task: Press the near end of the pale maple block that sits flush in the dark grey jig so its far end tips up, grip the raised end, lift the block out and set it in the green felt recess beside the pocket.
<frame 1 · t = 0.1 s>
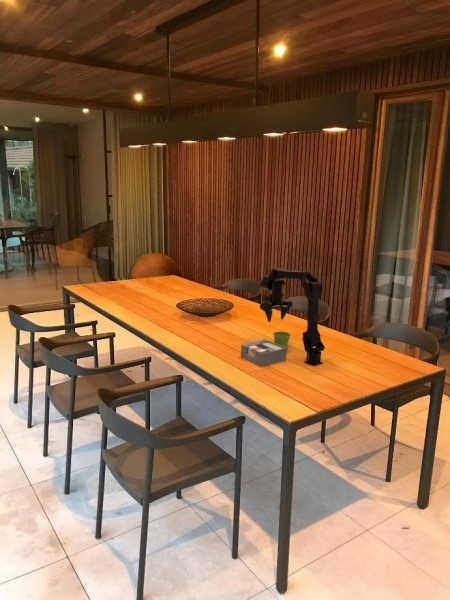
hand: (275, 320, 255), 15 cm above the table, tool pointing down, fingers open, 9 cm apart
jig board: (263, 358, 240), on the table
plant pot: (281, 350, 254), on the table
maple block: (257, 355, 236), point 3 cm above the table, touching jig board
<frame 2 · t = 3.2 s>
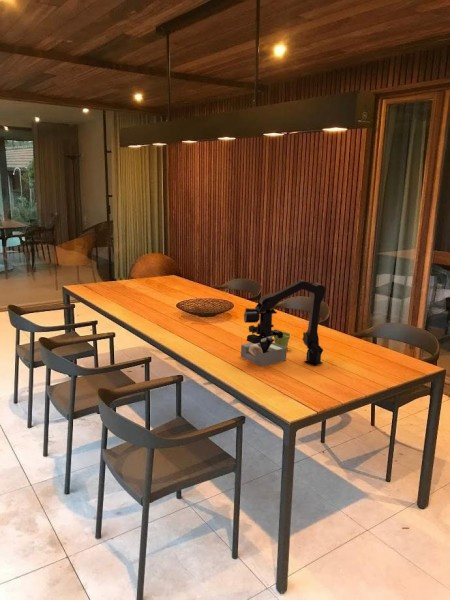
hand: (264, 353, 231), 6 cm above the table, tool pointing down, fingers closed, pressing on maple block
maple block: (257, 355, 236), point 3 cm above the table, tilted 13°, touching gripper, jig board
everything else where it was.
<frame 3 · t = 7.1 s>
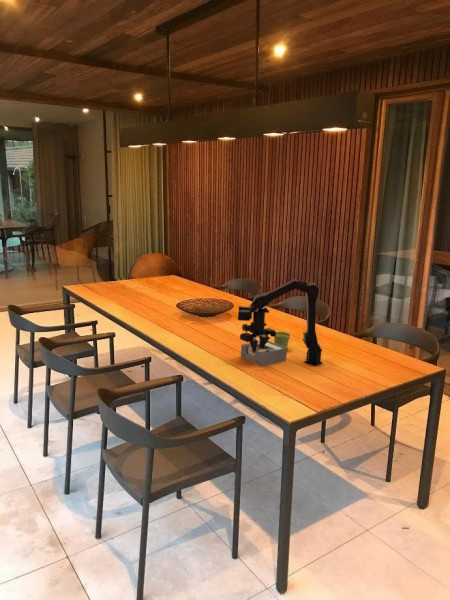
hand: (257, 351, 235), 5 cm above the table, tool pointing down, fingers closed on maple block, 4 cm apart
maple block: (257, 355, 236), point 3 cm above the table, touching gripper, jig board
everything else where it was.
when the fingers open (10 cm above the table, at t = 9.7 s): maple block drops 3 cm, resting on jig board.
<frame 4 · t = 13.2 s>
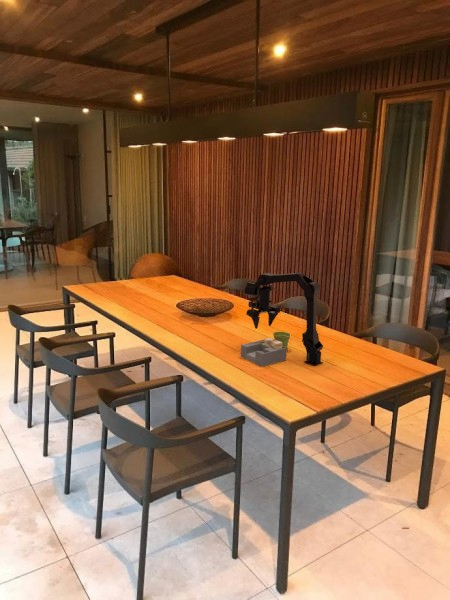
hand: (262, 327, 248), 13 cm above the table, tool pointing down, fingers open, 9 cm apart
maple block: (273, 347, 240), point 6 cm above the table, touching jig board
everything else where it was.
at the end: maple block 1.1 cm from the target spot on the jig board, point 5.6 cm above the jig board's base; maple block tilted 0°; the gripper is holding nothing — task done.
